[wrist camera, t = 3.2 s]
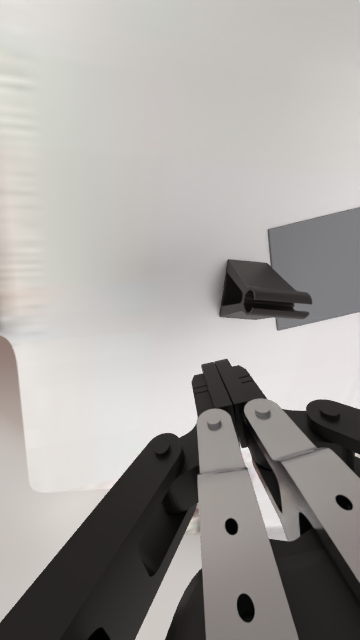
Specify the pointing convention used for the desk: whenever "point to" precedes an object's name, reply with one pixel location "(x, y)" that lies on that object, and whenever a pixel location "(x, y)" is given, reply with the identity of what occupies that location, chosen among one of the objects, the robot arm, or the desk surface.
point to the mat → (320, 264)
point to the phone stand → (259, 293)
